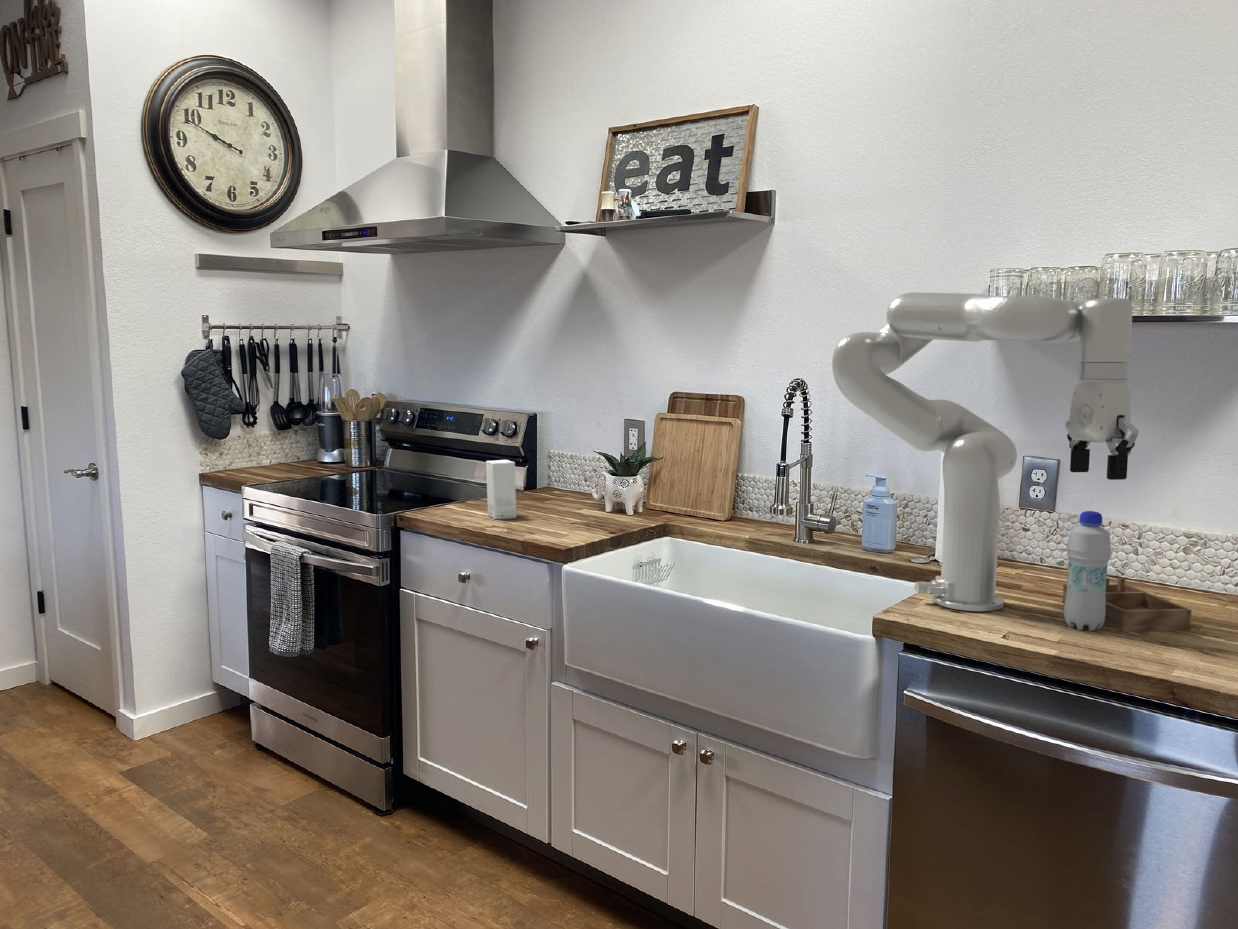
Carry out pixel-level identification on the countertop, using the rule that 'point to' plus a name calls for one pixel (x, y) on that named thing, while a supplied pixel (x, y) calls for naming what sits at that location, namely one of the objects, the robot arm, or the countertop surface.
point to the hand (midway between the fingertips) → (1097, 475)
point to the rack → (1140, 610)
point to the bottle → (1087, 572)
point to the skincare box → (501, 489)
